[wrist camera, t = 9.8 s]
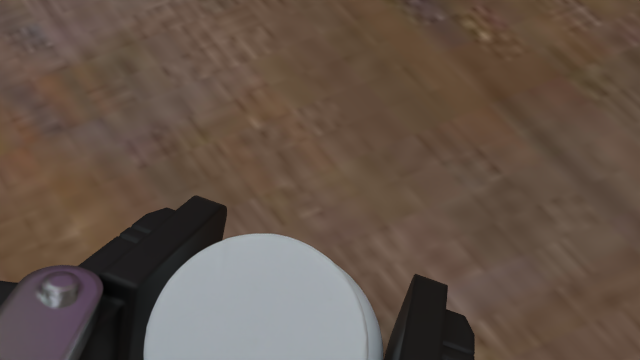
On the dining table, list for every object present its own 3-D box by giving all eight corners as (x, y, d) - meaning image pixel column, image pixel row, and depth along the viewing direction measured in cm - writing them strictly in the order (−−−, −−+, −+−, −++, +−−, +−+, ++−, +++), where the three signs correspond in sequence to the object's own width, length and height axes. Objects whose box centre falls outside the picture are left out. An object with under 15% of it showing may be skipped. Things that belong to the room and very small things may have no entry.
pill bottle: (194, 322, 16) (76, 265, 8) (331, 264, 16) (331, 165, 9) (244, 479, 14) (153, 572, 7) (393, 409, 15) (454, 430, 7)
